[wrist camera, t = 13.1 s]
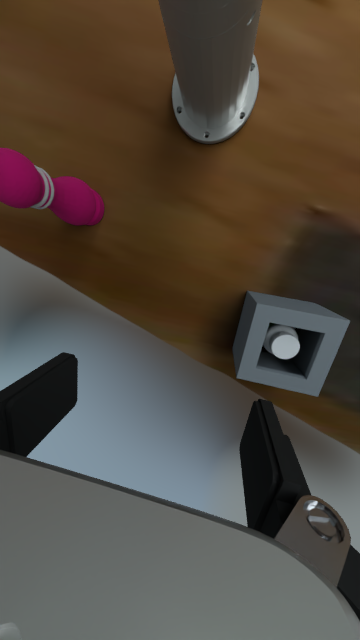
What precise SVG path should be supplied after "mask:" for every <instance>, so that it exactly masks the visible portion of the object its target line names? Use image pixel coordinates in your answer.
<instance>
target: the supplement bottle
mask: <svg viewBox="0 0 360 640" xmlns="http://www.w3.org/2000/svg"><path fill="white" fill-rule="evenodd" d="M263 345H264V347H265V349H266V350H267V351H268V352H270V353H271V354H274V355H275V356H276V357H278V358H280V359H290V358H292V357H294V356H295V355H296V354H297V353H298V351H299V349H300V344H299V341H298V335H297V332H296V331H295V330H294V328H293V327H291V326H286V325H280V324H275V323H269V326H268V329H267V333H266V336H265V339H264V342H263Z"/></svg>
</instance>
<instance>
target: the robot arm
mask: <svg viewBox="0 0 360 640" xmlns="http://www.w3.org/2000/svg"><path fill="white" fill-rule="evenodd" d="M158 1H159V5H160V9H161V13H162V18H163V22H164V26H165V30H166V34H167V39H168V43H169V47H170V51H171V56H172V60H173V64H174V68H175V72H176V73H175V76H174V80H173V86H172V102H173V109H174V112H175V116H176V118H177V121H178V123H179V125H180V127H181V128H182V130H183V131H184V132H185V133H186V134H187V135H188V136H189V137H190V138H192V139H193V140H195V141H197V142H200V143H205V144H215V143H219V142H222V141H225V140H226V139H228V138H230V137H232V136H233V135H234V134H235V133H237V132H238V131H239V130H240V129H241V128H242V126H243V125H244V124H245V122H246V121H247V119H248V118H249V116H250V114H251V112H252V110H253V108H254V104H255V101H256V97H257V92H258V86H259V72H258V65H257V62H256V58H255V56H254V54H253V52H254V46H255V40H256V34H257V29H258V23H259V17H260V11H261V5H262V0H158ZM250 70H252V71H250ZM179 112H181V113H179ZM241 117H242V118H243V119H240V118H241ZM206 136H208V138H205V137H206ZM77 366H78V361H77V358H75V355H73V354H69V353H61V354H59V355H58V356H56V357H54V358H53V359H51V360H50V361H48V362H47V363H45V364H43V365H42V366H40V367H38V368H37V369H35V370H34V371H32V372H31V373H29V374H28V375H26V376H24V377H22V378H21V379H19V380H17V381H16V382H15V383H13V384H11V385H9V386H8V387H6V388H5V389H3V390H1V391H0V640H360V553H359V552H358V551H357V550H355V549H354V548H353V547H352V546H351V545H350V543H351V537H350V533H349V529H348V528H347V526H346V524H345V522H344V520H343V519H342V518H341V516H340V515H339V514H338V513H337V511H335V510H334V509H333V508H332V507H331V506H330V505H329V504H328V503H326V502H325V501H323V500H322V499H320V498H318V497H315V496H311V493H310V490H309V488H308V485H307V483H306V480H305V477H304V475H303V472H302V470H301V467H300V464H299V462H298V459H297V457H296V454H295V452H294V449H293V447H292V444H291V441H290V439H289V437H288V436H287V435H284V434H283V432H282V429H281V426H280V423H279V421H278V418H277V415H276V413H275V410H274V407H273V404H272V402H270V401H266V400H262V399H258V401H254V402H253V405H252V408H251V411H250V414H249V417H248V420H247V424H246V427H245V430H244V433H243V436H242V439H241V443H240V459H241V468H242V477H243V486H244V496H245V505H246V515H247V524H248V527H246V526H243V525H241V524H238V523H235V522H232V521H229V520H226V519H223V518H220V517H217V516H214V515H211V514H208V513H205V512H202V511H199V510H196V509H193V508H190V507H187V506H183V505H181V504H177V503H174V502H171V501H168V500H165V499H161V498H158V497H155V496H152V495H149V494H145V493H142V492H139V491H136V490H133V489H129V488H126V487H122V486H120V485H116V484H113V483H110V482H106V481H103V480H100V479H97V478H93V477H90V476H87V475H83V474H80V473H77V472H74V471H70V470H67V469H64V468H60V467H57V466H54V465H50V464H47V463H44V462H40V461H37V460H34V459H30V458H27V455H28V454H29V453H30V452H31V451H32V450H33V449H34V448H35V447H36V446H37V445H38V444H39V443H40V442H41V441H42V440H43V439H44V438H45V437H46V436H47V434H48V433H49V432H50V431H51V430H52V429H53V428H54V427H55V426H56V425H57V424H58V423H59V422H60V421H61V420H62V419H63V418H64V416H66V415H67V414H68V413H69V411H70V410H71V409H72V408H73V407H74V406H75V404H76V402H77Z"/></svg>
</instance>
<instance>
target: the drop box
mask: <svg viewBox="0 0 360 640" xmlns="http://www.w3.org/2000/svg"><path fill="white" fill-rule="evenodd" d="M269 323H275V324H280V325H286V326H291V327H296V328H301V329H300V332H299V335H298V341H299V344H300V349H299V351H298V353H297V354H296V355H295V356H294V357H292V358H290V359H280V358H278V357H276V356H275V355H274V354H271V353H268V352H263V351H261V349H262V346H263V342H264V339H265V336H266V333H267V329H268V326H269ZM349 323H350V320H348V319H346V318H344V317H342V316H340V315H338V314H336V313H334V312H332V311H330V310H328V309H326V308H324V307H322V306H320V305H318V304H316V303H312V302H306V301H301V300H295V299H290V298H284V297H279V296H273V295H268V294H262V293H257V292H251V291H247V294H246V298H245V302H244V305H243V309H242V313H241V317H240V321H239V325H238V329H237V333H236V337H235V340H234V344H233V348H232V350H233V357H234V363H235V370H236V377H237V378H239V379H243V380H248V381H252V382H257V383H261V384H265V385H270V386H274V387H278V388H283V389H287V390H291V391H296V392H300V393H304V394H309V395H313V396H318V395H319V393H320V390H321V388H322V386H323V383H324V381H325V379H326V376H327V374H328V372H329V369H330V367H331V365H332V362H333V360H334V358H335V355H336V353H337V351H338V348H339V346H340V344H341V341H342V339H343V337H344V334H345V332H346V330H347V327H348V325H349Z"/></svg>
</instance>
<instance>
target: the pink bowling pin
mask: <svg viewBox="0 0 360 640" xmlns="http://www.w3.org/2000/svg"><path fill="white" fill-rule="evenodd" d="M0 201H1V202H3V203H4V204H6V205H9V206H12V207H15V208H28V207H32V208H36V209H44V208H46V207H48V208H49V209H51V210H52V211H53V212H54V213H55V214H56V215H57V216H58V217H59V218H60V219H62V220H63V221H65V222H67V223H69V224H72V225H78V226H79V225H84V224H85V225H95V224H97V223H98V222H100V220H101V219H102V217H103V214H104V203H103V200H102V198H101V196H100V195H99V194H98V193H97V192H96V191H94V190H93V189H91V188H90V187H89V186H88V185H87V184H86V183H85V182H84V181H82V180H80V179H77V178H75V177H69V176H64V177H58V178H51V177H50V176H49V175H48V174H47V173H46V172H45V171H44V170H43V169H41V168H39V167H37V166H35V165H34V164H33V163H32V162H31V161H30V160H29V159H28V158H26V157H25V156H24V155H22V154H21V153H19V152H17V151H14V150H11V149H8V148H0Z"/></svg>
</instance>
